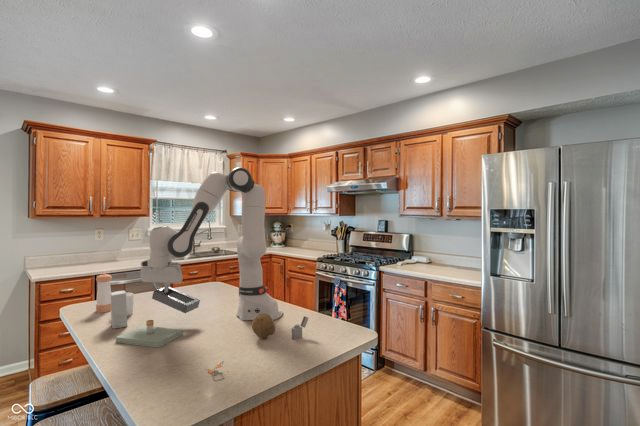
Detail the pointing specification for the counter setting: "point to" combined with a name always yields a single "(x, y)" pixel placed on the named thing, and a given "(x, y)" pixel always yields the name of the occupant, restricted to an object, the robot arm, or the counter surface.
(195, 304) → the grey rectangular frame
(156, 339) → the plate
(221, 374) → the key chain
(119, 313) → the skincare box
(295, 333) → the lighter
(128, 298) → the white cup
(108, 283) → the pepper shaker
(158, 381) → the counter surface
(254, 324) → the natural sponge
